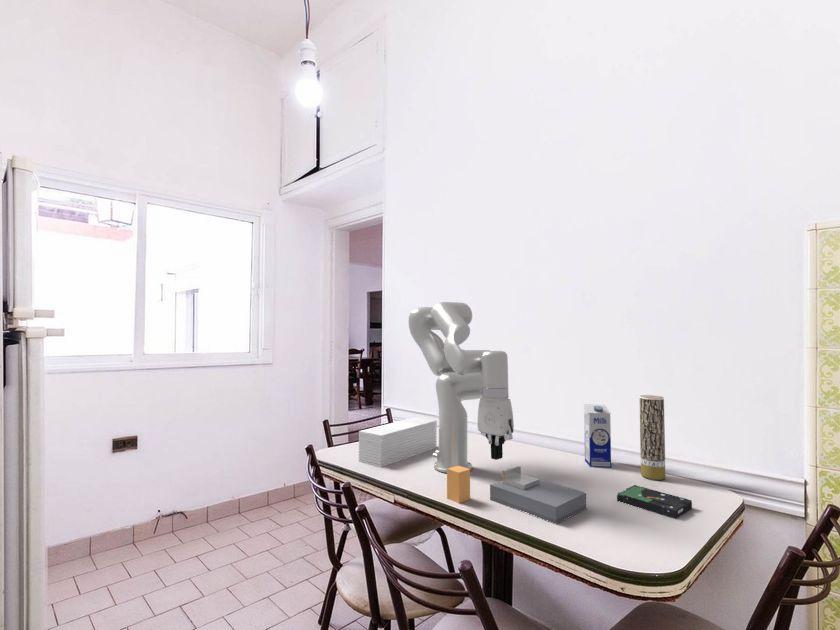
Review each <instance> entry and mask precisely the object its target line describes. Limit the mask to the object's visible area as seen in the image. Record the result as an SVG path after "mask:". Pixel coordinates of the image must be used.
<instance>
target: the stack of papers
mask: <svg viewBox="0 0 840 630" xmlns="http://www.w3.org/2000/svg"><path fill="white" fill-rule="evenodd" d="M437 421H438V420H437V419H436V420H435V419H430V418H423V417H416V416H414V417H410V418H406V419H401V420H398V421H394V422H391V423H387V424H386V423H385V424H382V425H378V426H374V427H371V428H367V429H362V430H359V431H358V462H360V463H364V464H368V465H371V466H375V467H379V468H382V467H386V466H388V465H391V464H394V463H397V462H399V461H402V460H405V459H408V458H410V457H413V456H416V455H419V454H421V453H425V452H428V451H431V450H433V449H436V448H437V447H438V446H437V437H438V436H437Z"/></svg>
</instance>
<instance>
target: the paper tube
mask: <svg viewBox="0 0 840 630" xmlns="http://www.w3.org/2000/svg"><path fill="white" fill-rule="evenodd" d="M665 428H666V427H665V398H664V396H661V395H651V394H642V395H639V440H640V441H639V443H640V445H639V447H640V449H639V451H640V452H639V453H640V474H641V476H642V477H643V478H645V479H648V480H652V481H654V480H655V481H663V480H665V479H666V443H665V442H666V441H665V440H666V439H665V438H666V434H665V430H666V429H665Z"/></svg>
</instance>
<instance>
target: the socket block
mask: <svg viewBox="0 0 840 630" xmlns="http://www.w3.org/2000/svg"><path fill="white" fill-rule="evenodd" d="M522 474H523V475H525V474H524V473H522ZM529 476H530V475H529ZM530 477H532V476H530ZM539 479H540V484H538V485H535V486H533V487H530V488H527V489H525V490H523V489H520V488H517V487H514V486H511V485H508V484H505V483H503V479H502V480H500V481H496V482H494V483H491V484H489V496H490V497H489V500H490V501H493V502H495V503H498V504H500V505H503V506H507V507H508V506H510V507H509V508H511V507H513V508H512V509H514V508H516V509H518V510H517V511H519V510H521V511H520V512H522V511H524V512H527V513H529V514H528V515H530V514H532V515H535V516H537V517H536V518H538V517H540V518H542V519H541V520H543V519H545V520H544V521H546V520H548V521H547V522H549V521H551V522H553V523H552V524H554V523H558V522H560V521H562V520H564V519H566V518H567V519H569V518H571V517H573V516H575V515H577V514H579V513H581V512H583V511H585V510H587V492H585V491H582V490H581V491H580V490H578V489H574V488H570V487H567V486H564V485H560V484H557V483H553V482H552V481H547V480H544V479H541V478H539ZM516 509H515V510H516ZM584 509H585V510H584ZM582 510H583V511H582ZM580 511H581V512H580ZM524 512H523V513H524ZM578 512H579V513H578ZM527 513H526V514H527ZM574 514H575V515H574ZM532 515H531V516H532ZM572 515H573V516H572ZM535 516H534V517H535ZM570 516H571V517H570ZM568 517H569V518H568ZM540 518H539V519H540ZM567 519H566V520H567ZM564 521H565V520H564ZM551 522H550V523H551ZM562 522H563V521H562ZM560 523H561V522H560ZM558 524H559V523H558Z"/></svg>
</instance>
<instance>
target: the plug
mask: <svg viewBox="0 0 840 630" xmlns="http://www.w3.org/2000/svg"><path fill="white" fill-rule="evenodd" d="M446 499H447V500H450V501H452V502H453V503H456V504H461V503H464V502H466V501H469V500H471V470H470V469H468V468H464V467H461V466H455V467H451V468H448V469H447V473H446Z"/></svg>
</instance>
